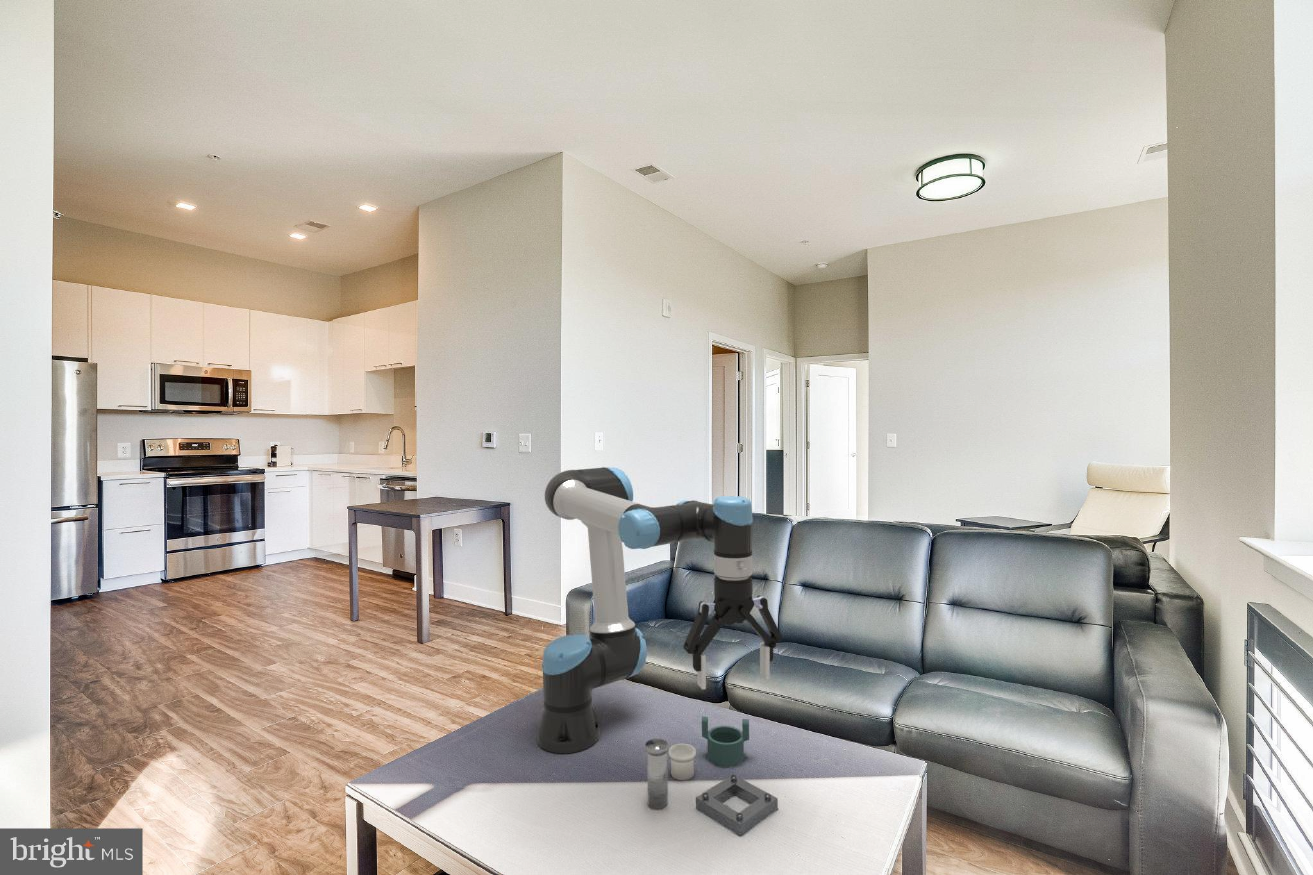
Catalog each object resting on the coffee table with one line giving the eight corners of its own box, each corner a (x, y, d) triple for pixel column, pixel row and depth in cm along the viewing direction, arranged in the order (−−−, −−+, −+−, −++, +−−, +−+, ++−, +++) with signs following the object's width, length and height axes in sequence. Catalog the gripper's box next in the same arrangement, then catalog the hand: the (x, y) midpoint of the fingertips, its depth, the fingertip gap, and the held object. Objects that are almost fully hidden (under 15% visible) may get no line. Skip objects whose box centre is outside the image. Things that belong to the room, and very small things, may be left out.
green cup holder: (753, 759, 138) (752, 720, 138) (720, 771, 133) (719, 731, 133) (729, 742, 145) (728, 704, 145) (696, 753, 141) (696, 714, 141)
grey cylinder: (641, 803, 122) (640, 744, 122) (658, 793, 126) (657, 736, 125) (657, 814, 119) (656, 753, 119) (674, 803, 122) (673, 744, 122)
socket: (696, 808, 121) (695, 794, 121) (733, 784, 128) (733, 771, 128) (740, 836, 112) (740, 821, 112) (777, 809, 120) (777, 795, 120)
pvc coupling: (663, 773, 133) (663, 750, 133) (682, 762, 137) (682, 740, 137) (682, 784, 129) (682, 761, 128) (701, 773, 133) (701, 750, 132)
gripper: (679, 586, 113) (680, 698, 114) (799, 575, 121) (799, 681, 121) (667, 576, 121) (667, 682, 121) (781, 566, 128) (781, 666, 129)
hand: (733, 681), depth 121 cm, fingers open, 13 cm apart
